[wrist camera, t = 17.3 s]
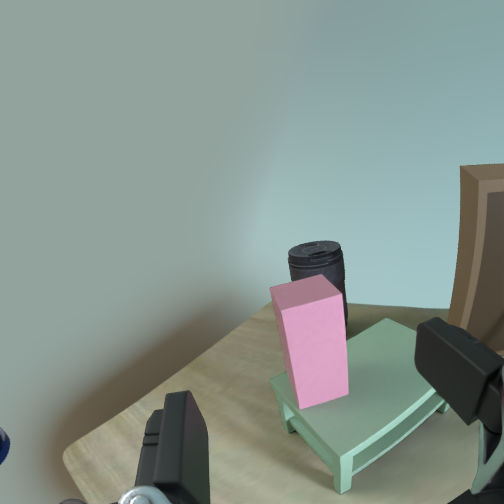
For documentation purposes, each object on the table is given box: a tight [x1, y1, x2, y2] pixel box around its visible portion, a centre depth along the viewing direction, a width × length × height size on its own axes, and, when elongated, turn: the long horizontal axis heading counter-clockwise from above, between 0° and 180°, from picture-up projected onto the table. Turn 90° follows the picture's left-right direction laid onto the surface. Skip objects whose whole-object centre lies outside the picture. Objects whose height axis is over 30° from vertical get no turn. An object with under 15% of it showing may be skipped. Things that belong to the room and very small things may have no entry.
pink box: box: [270, 274, 349, 410], centre depth 23 cm, size 4×4×10 cm
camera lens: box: [288, 241, 348, 332], centre depth 44 cm, size 8×8×15 cm
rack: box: [270, 318, 450, 495], centre depth 25 cm, size 16×12×8 cm
